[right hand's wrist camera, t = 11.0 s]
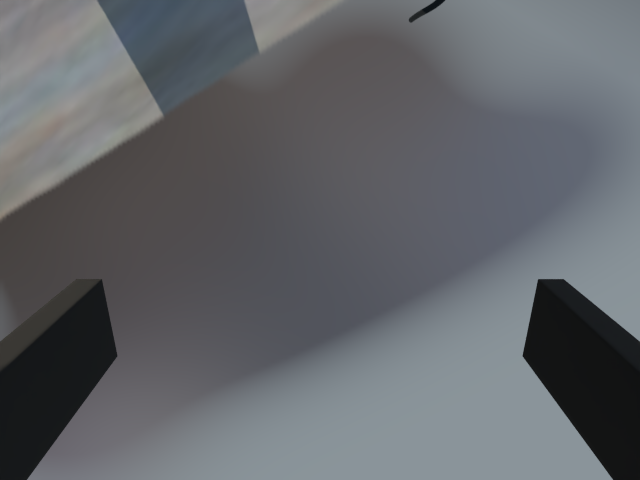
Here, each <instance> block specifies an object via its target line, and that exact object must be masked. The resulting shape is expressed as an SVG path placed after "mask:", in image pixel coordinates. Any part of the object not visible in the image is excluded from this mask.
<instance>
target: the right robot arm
mask: <svg viewBox="0 0 640 480" xmlns="http://www.w3.org/2000/svg"><path fill="white" fill-rule="evenodd" d="M444 1H445V0H435V1H434V2H433V3H431V4H430V5H428V6H427V7H425V8H423V9H421V10H420V11H418V12H417V13H415V14H414V15H412V16H411V17H410V18H409V22H410V23H412V22H413V21H415V20H416V19H418V18H420V17H421V16H423V15H425V14H427V13H429V12H431V11H432V10H434V9H436V8H437V7H438V6H440V5H441V4H442V3H443V2H444ZM116 357H117V352H116V347H115V342H114V337H113V332H112V327H111V322H110V317H109V312H108V308H107V302H106V298H105V293H104V288H103V283H102V279H76V280H75V281H74V282H72V283H71V284H70V285H69V286H68V287H66V288H65V289H64V290H63V291H61V292H60V293H59V294H58V295H57V296H55V297H54V298H53V299H52V300H51V301H49V302H48V303H47V304H46V305H44V306H43V307H42V308H41V309H40V310H38V311H37V312H36V313H35V314H33V315H32V316H31V317H30V318H29V319H27V320H26V321H25V322H24V323H22V324H21V325H20V326H19V327H18V328H16V329H15V330H14V331H13V332H11V333H10V334H9V335H8V336H7V337H5V338H4V339H3V340H2V341H0V480H27V479H28V477H29V476H30V475H31V473H32V472H33V471H34V469H35V468H36V466H37V465H38V464H39V462H40V461H41V460H42V458H43V457H44V456H45V454H46V453H47V451H48V450H49V449H50V447H51V446H52V445H53V443H54V442H55V441H56V439H57V438H58V436H59V435H60V434H61V432H62V431H63V430H64V428H65V427H66V425H67V424H68V423H69V421H70V420H71V419H72V417H73V416H74V415H75V413H76V412H77V410H78V409H79V408H80V406H81V405H82V404H83V402H84V401H85V400H86V398H87V397H88V396H89V394H90V393H91V391H92V390H93V389H94V387H95V386H96V384H97V383H98V382H99V380H100V379H101V378H102V376H103V375H104V374H105V372H106V371H107V370H108V368H109V367H110V365H111V364H112V363H113V361H114V360H115V359H116ZM523 357H524V359H525V360H526V361H527V363H528V364H529V365H530V367H531V368H532V369H533V371H534V372H535V374H536V375H537V376H538V378H539V379H540V380H541V382H542V383H543V385H544V386H545V387H546V389H547V390H548V391H549V393H550V394H551V395H552V397H553V398H554V400H555V401H556V402H557V404H558V405H559V406H560V408H561V409H562V411H563V412H564V413H565V415H566V416H567V417H568V419H569V420H570V421H571V423H572V424H573V426H574V427H575V428H576V430H577V431H578V432H579V434H580V435H581V436H582V438H583V439H584V441H585V442H586V443H587V445H588V446H589V447H590V449H591V450H592V451H593V453H594V454H595V456H596V457H597V458H598V460H599V461H600V462H601V464H602V465H603V466H604V468H605V469H606V471H607V472H608V473H609V475H610V476H611V477H612V479H613V480H640V341H638V340H637V339H636V338H635V337H633V336H632V335H631V334H630V333H629V332H627V331H626V330H625V329H624V328H622V327H621V326H620V325H619V324H618V323H616V322H615V321H614V320H613V319H611V318H610V317H609V316H608V315H607V314H605V313H604V312H603V311H602V310H600V309H599V308H598V307H597V306H596V305H594V304H593V303H592V302H591V301H590V300H588V299H587V298H586V297H585V296H583V295H582V294H581V293H580V292H579V291H577V290H576V289H575V288H574V287H572V286H571V285H570V284H569V283H568V282H566V281H565V280H564V279H538V283H537V288H536V293H535V297H534V302H533V307H532V312H531V317H530V322H529V327H528V332H527V337H526V342H525V347H524V352H523Z"/></svg>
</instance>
